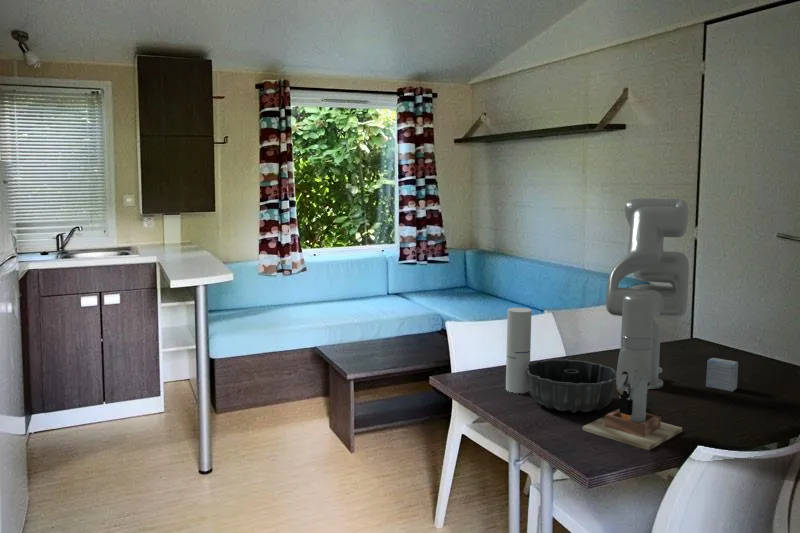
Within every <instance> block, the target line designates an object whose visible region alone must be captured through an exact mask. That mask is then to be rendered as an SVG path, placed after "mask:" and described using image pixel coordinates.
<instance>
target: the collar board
mask: <svg viewBox="0 0 800 533" xmlns="http://www.w3.org/2000/svg"><path fill="white" fill-rule="evenodd" d="M661 419H662V417H661V416H660V415H656V414H652V413H650V412H649V413H648V412H646V420H645V422H643V423H638V422H634V421H631V420H627V419H623V418H621V413H620V408H618V409H615V410H613V411H611V412H609V413H607V414H605V415H604V416H603V417H600V418H598V419H596V420H594V421H592V422H589V423H587V424H585V425H583V426H582V431H584V432H588V433H590V434H593V435H597V436H600V437H603V438H607V439H611V440H614V441H615V442H619V443H623V444H626V445H629V446H632V447H635V448H638V449H643V450H646V451H650V450H653V449H654V448H656V447H657V446H659V445H661V444H662V443H665V442H666V441H668V440H670V439H671V438H674V437H676V436H677V435H678V434H680V433H682V432H683V427H681V426H676V425H673V424H670V423H666V422H664V421H663V422H662V421H661Z"/></svg>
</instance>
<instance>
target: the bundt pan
mask: <svg viewBox="0 0 800 533" xmlns="http://www.w3.org/2000/svg"><path fill="white" fill-rule="evenodd" d="M524 371H525V372H526V377H527V385H528V391H529V392H528V393H529V395H530V396H531V398H532V399H533V400H534V401H536V402H537V403H538V404H539V405H542V406H545V408H547V409H548V410H553V409H555V410H556V411H560V412H566V411H570V412H571V413H572V414H574V413H577V412H578V411H579V412H580V413H588V412H592V411H593V412H599V411H601V410H602V409H603V408H605V407H607V406H608V405H609V404H611V402H612V401H613V398H614V394H615V390H616V386H617V385H616V374H617V371H616V370H615V369H614V368H612V367H610V366H606V365H603V364H602V363H601V364H600V363H593V362H590V361H586V360H578V359H577V360H574V359H573V360H572V359H567V358H566V359H545V360H542V361H541V360H538V361H537V360H536V361H535V362H532V363H531V362H530V364H528V365H527V366H526V368H525V369H524Z"/></svg>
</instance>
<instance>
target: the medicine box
mask: <svg viewBox="0 0 800 533" xmlns="http://www.w3.org/2000/svg"><path fill="white" fill-rule="evenodd" d="M706 366H707V368H706V379H705V380H706V382H705V387H707V388H712V389H717V390H723V391H727V392H734V391H735V390H736V389H737V388H738V376H739V375H738V372H739V362H738V361H736V360H735V361H734V360H729V359H723V358H716V357H711V358H709V359H708V360H707V364H706Z"/></svg>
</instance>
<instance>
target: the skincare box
mask: <svg viewBox="0 0 800 533" xmlns="http://www.w3.org/2000/svg"><path fill="white" fill-rule="evenodd" d="M626 386H627V387H630V385H627V384H626ZM625 391H627V393H629V390H627V389H625ZM631 400H633V408H632V415H626V414H623V413H621V418H623V419H627V420H631V421H634V422H638V423H643V422H645V420H646V413H647V407H646V401H647V402H648V393H647V380H646V379H642V380H640V381H639V383H638V387H637V388H636V389H633V394H632V398H631Z"/></svg>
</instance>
